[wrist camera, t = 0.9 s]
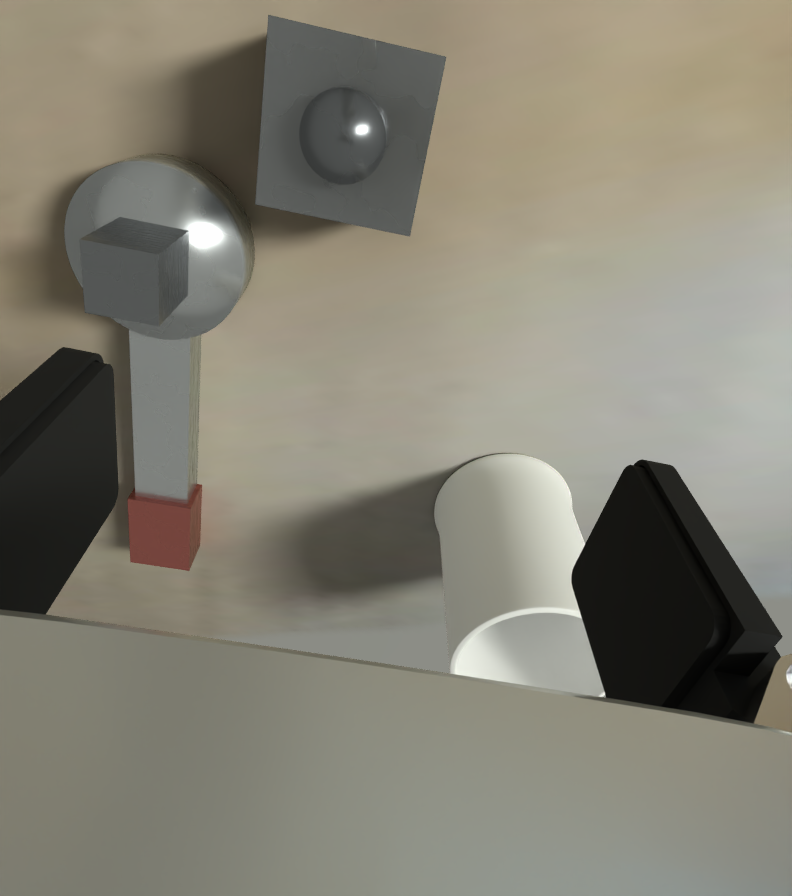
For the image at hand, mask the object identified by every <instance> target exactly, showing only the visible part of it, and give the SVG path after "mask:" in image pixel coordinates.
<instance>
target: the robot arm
mask: <svg viewBox="0 0 792 896" xmlns="http://www.w3.org/2000/svg"><path fill="white" fill-rule="evenodd" d="M117 495H118V467H117V444H116V420H115V397H114V374H113V369H112V366H111V365H109V364H104V363H103V359H102V357H101V356H100V355H99V354H97V353H91V352H86V351H81V350H76V349H71V348H65V347H63V348H61V349H59V350H58V351H57V352H56V353H55V354H53V355H52V356H51V357H50V358H49V359H48V360H46V361H45V362H44V363H43V364H42V365H41V366H40V367H38V368H37V369H36V370H35V371H34V372H33V373H32V374H30V375H29V376H28V377H27V378H26V379H25V380H23V381H22V382H21V383H20V384H19V385H18V386H17V387H15V388H14V389H13V390H12V391H11V392H10V393H9V394H7V395H6V396H5V397H4V398H3V399H2V400H0V896H792V654H789V655H786V656H782V657H781V656H780V655H779V653H778V652H777V650H776V648H775V647H774V646H775V645H776V644H777V643H778V641H779V640H780V639H781V638H782V635H781V633H780V632H779V630H778V629H777V627H776V626H775V624H774V622H773V621H772V619H771V618H770V616H769V615H768V613H767V611H766V610H765V608H764V607H763V606H762V604H761V602H760V601H759V599H758V597H757V596H756V594H755V593H754V591H753V590H752V588H751V586H750V585H749V583H748V582H747V580H746V579H745V577H744V576H743V574H742V572H741V571H740V569H739V568H738V566H737V565H736V563H735V561H734V560H733V558H732V557H731V555H730V554H729V552H728V550H727V549H726V547H725V546H724V544H723V543H722V541H721V540H720V538H719V536H718V535H717V533H716V532H715V530H714V529H713V527H712V525H711V524H710V522H709V521H708V519H707V518H706V516H705V515H704V513H703V511H702V510H701V508H700V507H699V505H698V504H697V502H696V500H695V499H694V497H693V496H692V494H691V493H690V491H689V489H688V488H687V486H686V485H685V483H684V482H683V480H682V479H681V477H680V475H679V474H678V472H677V471H676V469H675V468H674V467H673V466H671V465H667V464H662V463H657V462H652V461H647V460H639V461H637V462H636V463H635V464H634V466H633V465H629V466H627V467H626V468H625V469H624V470H623V472H622V474H621V476H620V478H619V480H618V482H617V484H616V486H615V488H614V489H613V491H612V493H611V495H610V497H609V499H608V501H607V503H606V505H605V507H604V509H603V511H602V513H601V515H600V517H599V519H598V521H597V522H596V524H595V526H594V528H593V530H592V532H591V534H590V536H589V538H588V540H587V542H586V544H585V546H584V548H583V550H582V552H581V553H580V555H579V557H578V559H577V561H576V563H575V565H574V568H573V571H572V576H571V583H572V588H573V591H574V594H575V598H576V601H577V604H578V607H579V611H580V614H581V617H582V620H583V624H584V627H585V630H586V633H587V637H588V640H589V643H590V646H591V650H592V653H593V656H594V659H595V663H596V666H597V669H598V672H599V675H600V679H601V682H602V685H603V688H604V692H605V695H606V698H604V697H598V696H592V695H585V694H579V693H572V692H566V691H560V690H553V689H547V688H540V687H534V686H528V685H521V684H515V683H508V682H502V681H495V680H489V679H483V678H476V677H470V676H463V675H456V674H450V673H443V672H437V671H430V670H423V669H417V668H410V667H404V666H396V665H390V664H384V663H377V662H370V661H363V660H357V659H350V658H344V657H337V656H330V655H323V654H317V653H310V652H303V651H297V650H290V649H283V648H276V647H269V646H262V645H255V644H249V643H242V642H234V641H228V640H221V639H214V638H207V637H200V636H193V635H186V634H179V633H173V632H166V631H159V630H152V629H145V628H138V627H131V626H124V625H117V624H110V623H103V622H95V621H88V620H81V619H74V618H67V617H59V616H52V615H45V614H46V613H47V611H48V610H49V608H50V606H51V605H52V603H53V602H54V600H55V599H56V597H57V595H58V594H59V592H60V591H61V589H62V588H63V586H64V584H65V583H66V581H67V580H68V578H69V577H70V575H71V573H72V572H73V570H74V569H75V567H76V566H77V564H78V562H79V561H80V559H81V558H82V556H83V555H84V553H85V551H86V550H87V548H88V547H89V545H90V544H91V542H92V541H93V539H94V537H95V536H96V534H97V533H98V531H99V530H100V528H101V526H102V525H103V523H104V522H105V520H106V519H107V517H108V515H109V514H110V512H111V511H112V509H113V507H114V505H115V503H116V499H117Z"/></svg>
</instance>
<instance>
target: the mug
mask: <svg viewBox="0 0 792 896" xmlns="http://www.w3.org/2000/svg"><path fill="white" fill-rule="evenodd" d="M434 518H435V523H436V527H437V530H438V532H439V536H440V546H441V560H442V574H443V588H444V602H445V616H446V629H447V643H448V656H449V670H450V674H456V675H463V676H470V677H476V678H483V679H489V680H495V681H502V682H508V683H515V684H521V685H528V686H534V687H540V688H547V689H553V690H560V691H566V692H572V693H579V694H585V695H592V696H598V697H603V696H604V695H605V692H604V688H603V685H602V682H601V679H600V675H599V672H598V669H597V666H596V663H595V659H594V656H593V653H592V650H591V646H590V643H589V640H588V637H587V633H586V630H585V627H584V624H583V620H582V617H581V614H580V611H579V607H578V604H577V601H576V598H575V594H574V591H573V588H572V583H571V576H572V571H573V568H574V565H575V563H576V561H577V559H578V557H579V555H580V553H581V552H582V550H583V548H584V546H585V543H584V540H583V537H582V535H581V532H580V529H579V527H578V524H577V521H576V518H575V516H574V513H573V510H572V498H571V494H570V490H569V488H568V486H567V484H566V482H565V480H564V479H563V477H562V476H561V475H560V474H559V473H558V472H557V471H556V470H555V469H554V468H553V467H551V466H550V465H548V464H547V463H545V462H543V461H541V460H539V459H536V458H533V457H530V456H526V455H521V454H495V455H490V456H486V457H482V458H479V459H477V460H474V461H472V462H470V463H468V464H466V465H464V466H463V467H461V468H460V469H458V470H457V471H456V472H455V473H453V474H452V475H451V476H450V477H449V478H448V479H447V481H446V482H445V483H444V485H443V486H442V488H441V489H440V491H439V493H438V496H437V499H436V502H435V508H434Z"/></svg>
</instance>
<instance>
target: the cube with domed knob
mask: <svg viewBox="0 0 792 896" xmlns="http://www.w3.org/2000/svg"><path fill="white" fill-rule="evenodd" d="M445 61H446V57H445V56H440V55H436V54H432V53H428V52H423V51H419V50H415V49H411V48H407V47H402V46H398V45H394V44H390V43H385V42H381V41H377V40H373V39H368V38H364V37H360V36H356V35H351V34H347V33H343V32H339V31H335V30H330V29H326V28H322V27H318V26H313V25H309V24H305V23H301V22H296V21H292V20H288V19H284V18H279V17H275V16H271V15H268V29H267V44H266V58H265V72H264V87H263V101H262V115H261V129H260V144H259V158H258V172H257V187H256V201H255V204H256V205H260V206H265V207H270V208H275V209H280V210H285V211H289V212H294V213H299V214H304V215H309V216H314V217H318V218H323V219H328V220H333V221H338V222H343V223H347V224H352V225H357V226H362V227H367V228H372V229H376V230H381V231H386V232H391V233H396V234H401V235H405V236H410V233H411V228H412V223H413V218H414V213H415V208H416V203H417V198H418V194H419V189H420V184H421V179H422V174H423V169H424V164H425V159H426V154H427V149H428V144H429V139H430V135H431V130H432V125H433V120H434V115H435V110H436V105H437V100H438V95H439V90H440V85H441V80H442V76H443V71H444V66H445Z"/></svg>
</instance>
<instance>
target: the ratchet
mask: <svg viewBox="0 0 792 896" xmlns="http://www.w3.org/2000/svg"><path fill="white" fill-rule="evenodd" d="M64 233H65V245H66V251H67V255H68V258H69V262H70V265H71V267H72V270H73V272H74V274H75V276H76V278H77V280H78V282H79V283H80V285H81V287H82V288H83V294H84V307H85V313H90V314H95V315H100V316H106V317H110V318H112V319H113V320H114V321H116V322H117V323H119V324H121V325H122V326H124V327H126V328H128V329H129V344H130V370H131V395H132V421H133V447H134V472H135V488H134V490H133V491H132V493H131V494H130V496H129V498H128V519H129V540H130V561H131V562H134V563H141V564H147V565H154V566H161V567H167V568H174V569H181V570H187V571H189V570H190V568H191V565H192V563H193V560H194V558H195V556H196V553H197V551H198V549H199V546H200V529H201V499H202V485H199V484H197V468H198V433H199V397H200V362H201V334H203V333H206V332H208V331H209V330H211V329H213V328H214V327H216V326H217V325H218V324H219V323H221V322H222V321H223V320H224V319H225V318H226V317H227V315H228V314H229V313H230V312H231V310H232V309H233V307H234V306H235V305H236V303H237V302H238V300H239V299H240V297H241V296H242V294H243V293H244V291H245V290H246V288H247V286H248V284H249V281H250V279H251V275H252V272H253V267H254V260H255V249H254V240H253V235H252V231H251V227H250V225H249V222H248V219H247V217H246V215H245V213H244V211H243V209H242V207H241V205H240V204H239V202H238V201H237V199H236V198H235V196H234V195H233V194H232V193H231V191H230V190H229V189H228V188H227V187H226V186H225V185H224V184H223V183H222V182H221V181H220V180H219V179H218V178H217V177H216V176H214V175H213V174H212V173H210V172H209V171H208V170H206V169H204V168H203V167H201V166H199V165H197V164H196V163H193V162H191V161H189V160H186V159H183V158H180V157H176V156H173V155H166V154H146V155H139V156H136V157H133V158H129V159H126V160H124V161H121V162H118V163H115V164H112V165H109V166H107V167H104V168H102V169H100V170H99V171H97V172H95V173H94V174H92V175H91V176H90V177H88V178H87V179H86V180H85V181H84V182H83V183H82V184H81V185H80V186H79V188H78V189H77V191H76V192H75V194H74V195H73V197H72V199H71V202H70V204H69V206H68V210H67V214H66V218H65V227H64Z"/></svg>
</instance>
